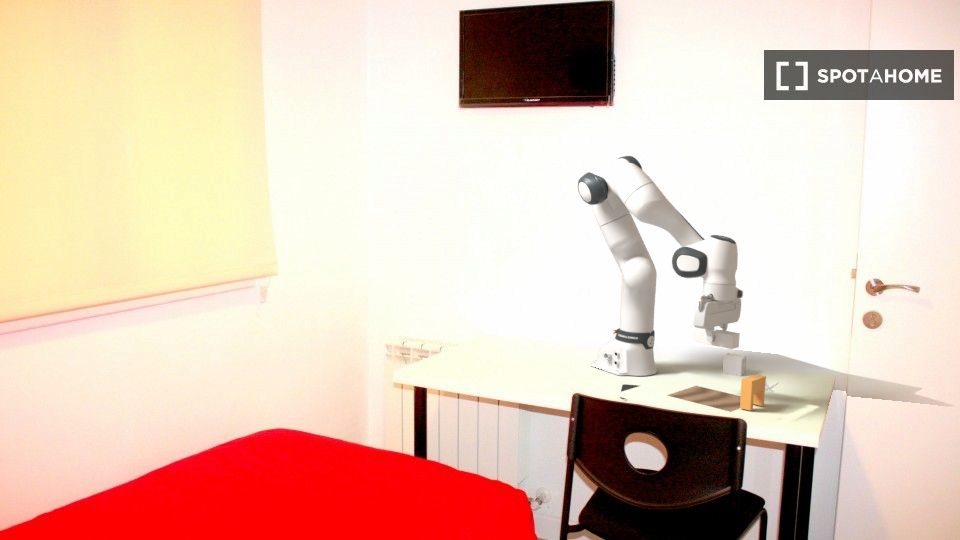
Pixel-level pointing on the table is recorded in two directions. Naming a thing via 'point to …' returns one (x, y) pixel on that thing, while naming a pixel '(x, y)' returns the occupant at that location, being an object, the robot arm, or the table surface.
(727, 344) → the long white block
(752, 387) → the upright orange block
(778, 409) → the table surface
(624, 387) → the phone
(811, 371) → the table surface
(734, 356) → the grey block
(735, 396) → the board
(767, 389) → the scissors
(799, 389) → the table surface
